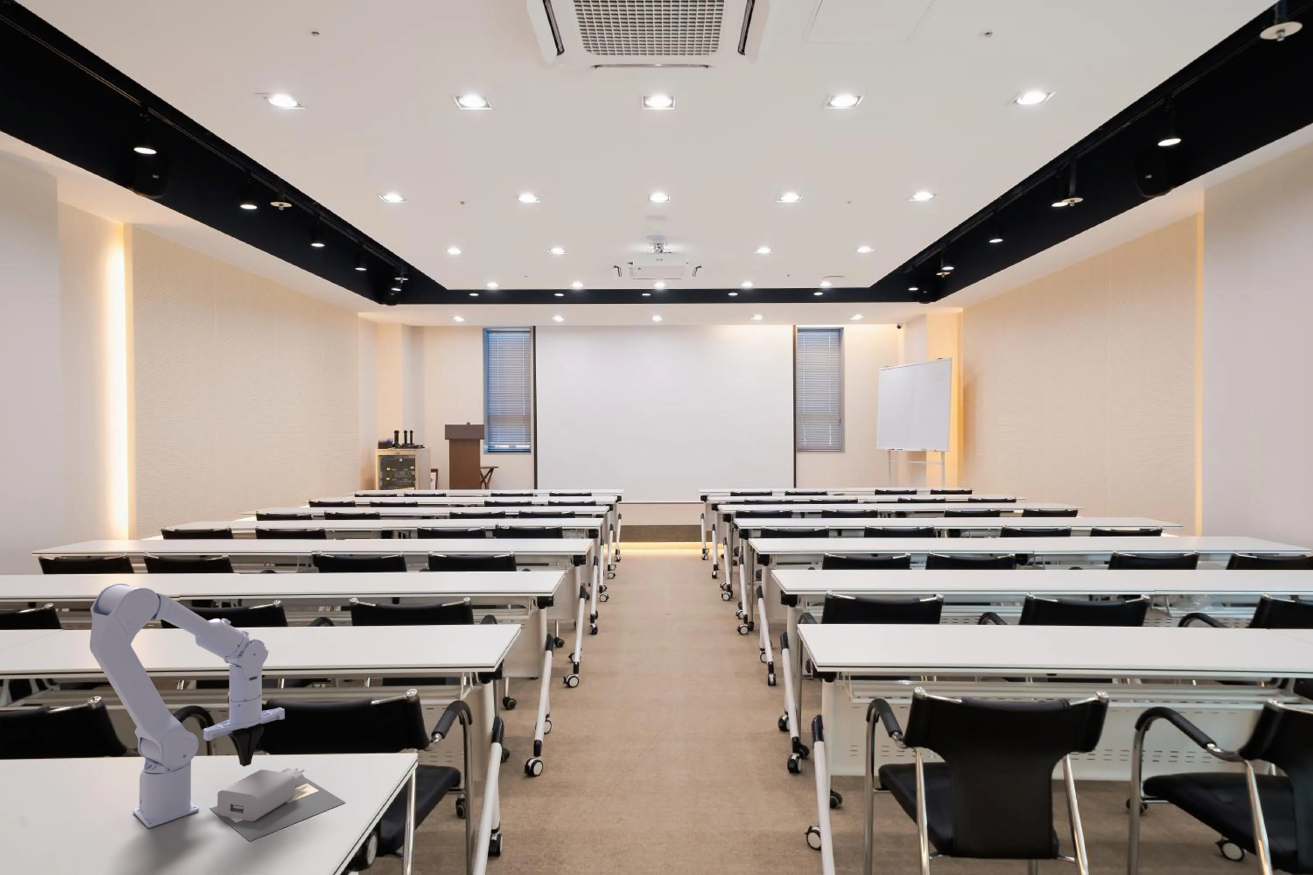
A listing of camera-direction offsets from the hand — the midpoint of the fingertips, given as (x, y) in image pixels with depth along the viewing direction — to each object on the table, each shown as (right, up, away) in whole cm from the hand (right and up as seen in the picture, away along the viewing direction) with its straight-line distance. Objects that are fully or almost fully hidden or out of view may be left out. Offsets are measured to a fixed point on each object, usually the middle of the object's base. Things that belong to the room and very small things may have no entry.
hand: (245, 764), depth 141 cm
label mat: (+12, -3, -10) cm, 16 cm away
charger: (+9, -3, -8) cm, 13 cm away
